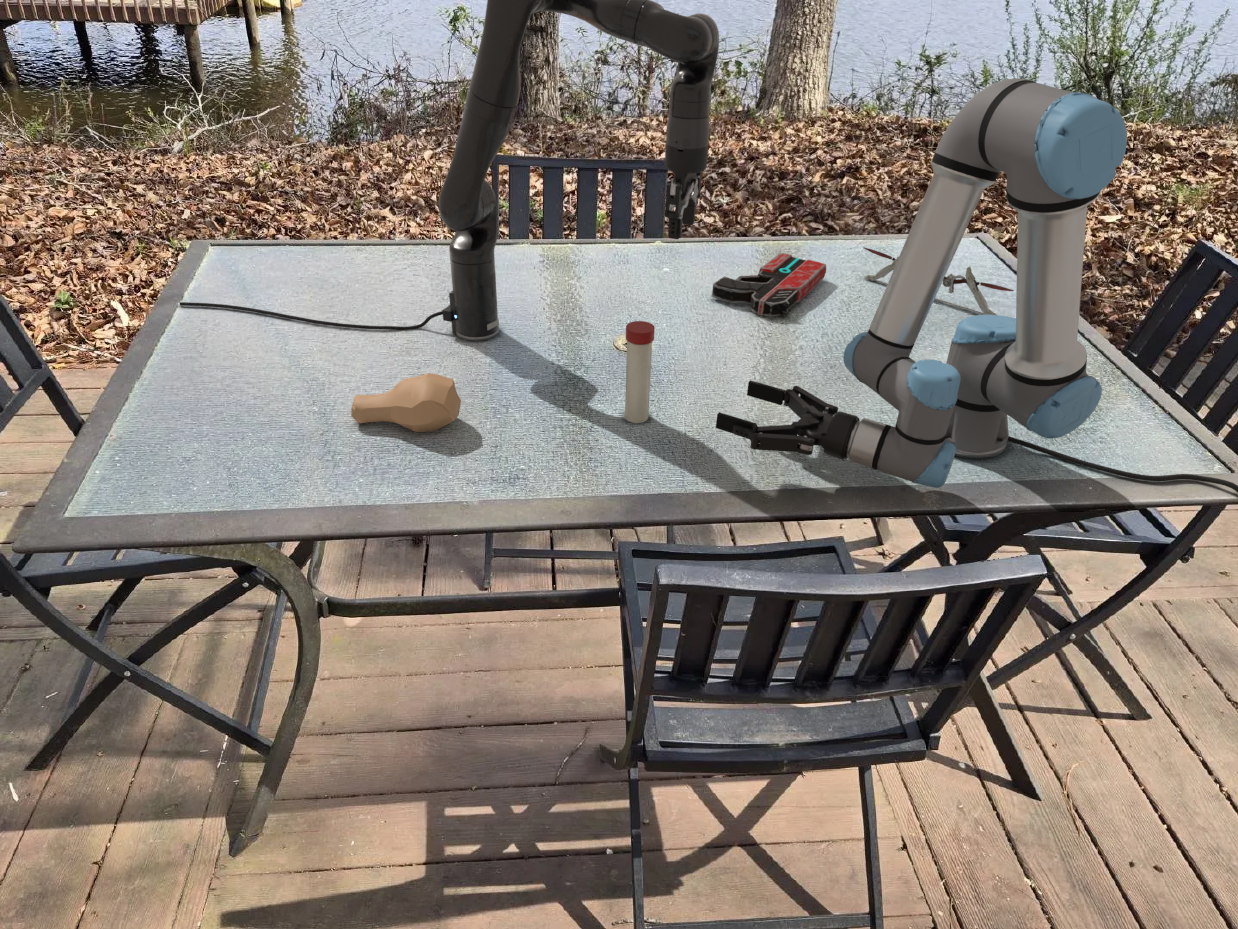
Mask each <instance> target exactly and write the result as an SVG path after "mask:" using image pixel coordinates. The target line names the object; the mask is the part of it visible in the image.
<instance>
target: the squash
mask: <svg viewBox="0 0 1238 929" xmlns="http://www.w3.org/2000/svg"><path fill="white" fill-rule="evenodd" d="M461 404H462V399H461V398H460V395H459V394H458V392H457V388H456V385H455V381H454V379H453V378H449V377H447V376H443V375H441V374H437V373H431V372H427V373H425V374H424V373H423V374H420V375H417V376H414V377H413V376H412V377H407V378H403V379H402V380H400V381H399V382H397V383H396V384H395V386H393V388H392V389H390V390H388V391H386V392H384V393H375V394H357V395H354V396H353V401H352V404H351V409H350V410H351V412H350V414H351V416H350V417H352V419H353V420H354V421H355V422H356V424H366V423H372V422H387V423H394V424H398V425H400V426H402V427H404V428H406V429H408V430H410V431H412V432H415V433H422V432H423V433H425V432H435V431H438V430H439V429H442V428H444V427H445V426H447V425H449V424H452V423H453V422H455V421H456V419H457V418H458V416H459V415H460V409H461Z"/></svg>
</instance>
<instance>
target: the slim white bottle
mask: <svg viewBox="0 0 1238 929" xmlns="http://www.w3.org/2000/svg"><path fill="white" fill-rule="evenodd" d="M652 355H653V342H651V343H649V344H643V345H639V344H633V343H630V342H628V341H627V340H626V367H625V391H624V392H625V393H624V394H625V398H624V419H625V420H626V421H627V422H629V423H633V424H641V423H645V422H647V421H648V420H649V416H650V415H649V414H650V397H651V396H650V395H651V376H652V358H653V357H652Z"/></svg>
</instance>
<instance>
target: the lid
mask: <svg viewBox="0 0 1238 929" xmlns="http://www.w3.org/2000/svg"><path fill="white" fill-rule="evenodd" d="M655 328H656V327H655V325H654V324H653V323H652V322H649V321H646V320H645V321H644V320H635V321H631V322H628V323H627V324H626V325H625V340H626V342H627V341H628V342H630V343H633V344H639V345H643V344H649V343H651V342H652V343H653V342H654V340H655V330H656V329H655Z"/></svg>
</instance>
